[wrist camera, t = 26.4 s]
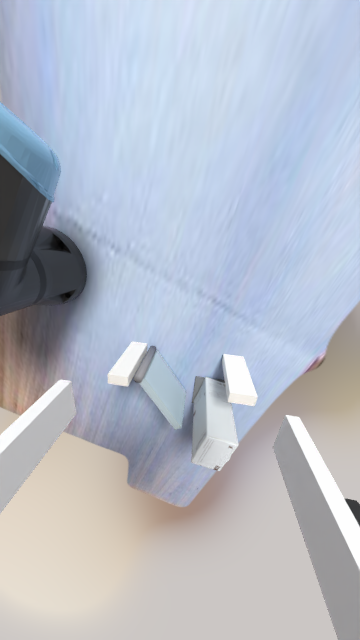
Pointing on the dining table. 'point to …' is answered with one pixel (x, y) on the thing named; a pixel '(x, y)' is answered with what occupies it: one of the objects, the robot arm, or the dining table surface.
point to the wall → (233, 366)
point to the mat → (198, 385)
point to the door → (162, 387)
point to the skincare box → (213, 426)
